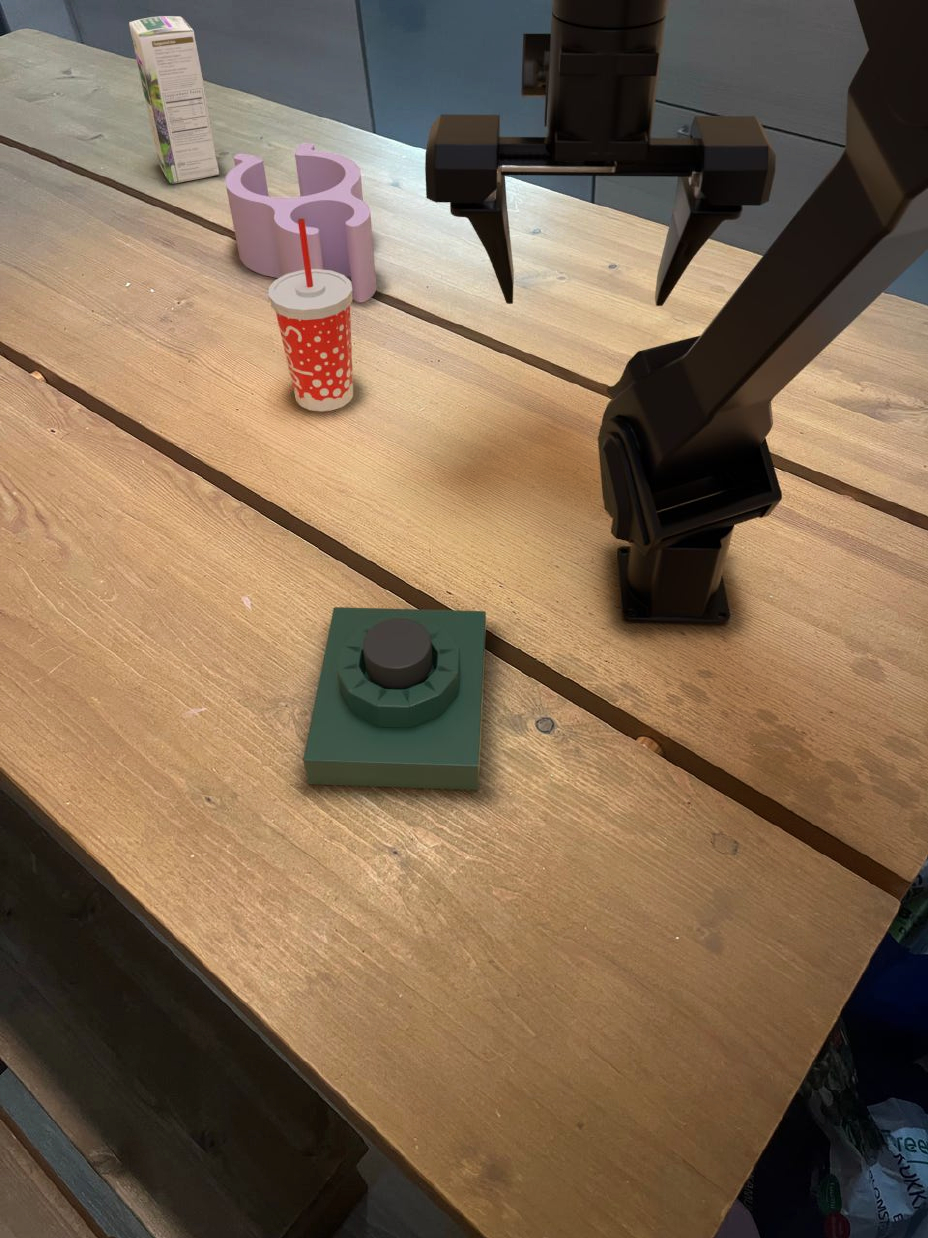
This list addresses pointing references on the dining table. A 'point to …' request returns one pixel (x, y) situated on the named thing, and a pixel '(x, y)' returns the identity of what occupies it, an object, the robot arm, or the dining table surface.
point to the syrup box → (175, 97)
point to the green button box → (399, 707)
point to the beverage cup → (316, 332)
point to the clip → (329, 219)
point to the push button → (397, 653)
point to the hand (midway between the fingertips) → (583, 301)
